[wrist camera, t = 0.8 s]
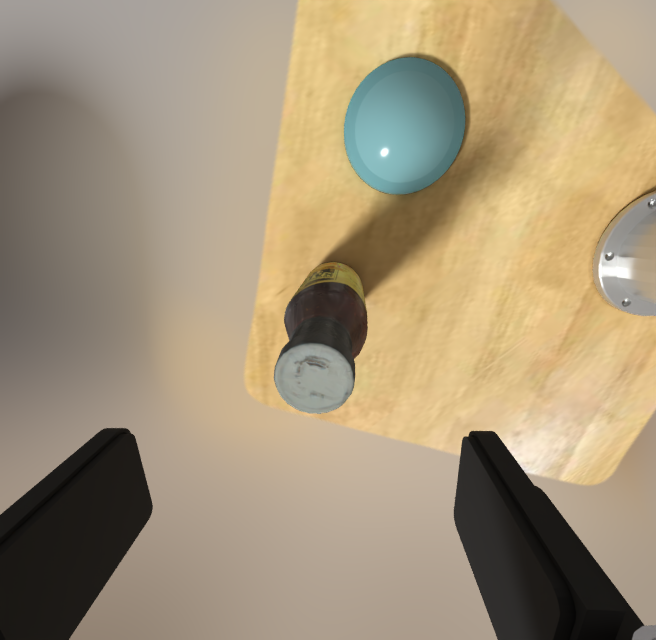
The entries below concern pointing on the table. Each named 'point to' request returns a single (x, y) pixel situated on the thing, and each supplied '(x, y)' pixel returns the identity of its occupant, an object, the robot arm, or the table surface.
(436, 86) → the coaster
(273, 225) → the table surface
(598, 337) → the table surface
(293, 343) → the sauce bottle
